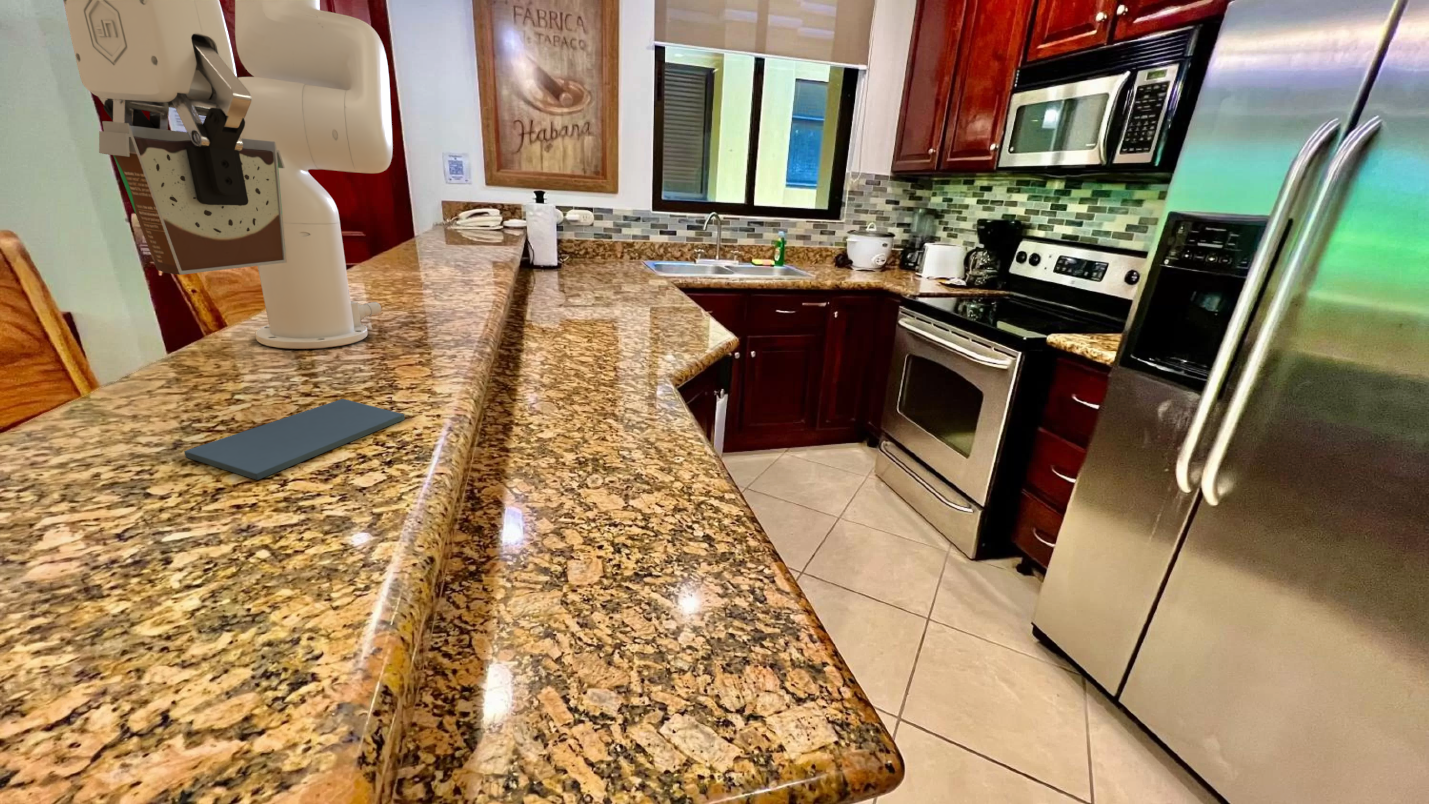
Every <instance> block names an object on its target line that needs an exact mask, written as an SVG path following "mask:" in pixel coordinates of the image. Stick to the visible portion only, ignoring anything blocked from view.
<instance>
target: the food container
mask: <svg viewBox="0 0 1429 804" xmlns="http://www.w3.org/2000/svg"><path fill="white" fill-rule="evenodd" d="M101 124H102V128H103V131H102V130H101V131H99V132H98V136H99V137H98V139H99V140H98V153H99V154H102V155H110V156H113V158H114V161H115V163H116V166H117V169H118V172H119V174H120V177H121V180H122V182H123V185H124V187H125V191H126V192H127V195H128V198H129V200H130V204H131V206H132V209H133V211H134V213H135V217H136V219H137V222H138V225H139V227H140V230H141V232H142V235H143V237H144V241H145V243H146V245H147V248H148V250H149V253H150V256H151V259H152V261H153V264H154V267H155V269H156V270H157V271H158V272H162V273H165V274H171V275H179V276H181V275H188V274H199V273H207V272H215V271H224V270H234V269H241V268H242V269H243V268H251V267H258V266H261V265H270V264H279V263H287V260H286V249H285V237H284V226H283V215H282V204H281V192H280V181H279V170H278V168H285V167H284V164H283V161H282V157H281V154H280V151H279V150H277V148H276V143H275V142H273V141H263V140H253V139H243V138H241V139H242V142H243V148H242V150H241V151H239V154H240V159H241V165H242V170H243V175H244V181H245V186H246V191H247V196H248V204H247V205H207V204H202V203H200V202H199V201H198V200H197V197H196V192H195V187H194V183H193V178H192V174H191V169H190V165H189V160H188V156H187V151H186V147H185V146H194V147H197V146H195V145H194V144H193V143H192V141H191V139H190V137H189V135H188V133H187V131H179V130H169V129H168V130H162V129H154V128H146V127H138V126H130V125H129V123H119V122H113V121H107V120H103V121H102V123H101ZM234 151H235V150H234Z"/></svg>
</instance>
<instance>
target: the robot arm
mask: <svg viewBox="0 0 1429 804" xmlns="http://www.w3.org/2000/svg"><path fill="white" fill-rule="evenodd" d="M320 1H321V0H234V4H235V5H234V21H235V22H234V25H235V26H234V33H235V34H234V36H235V46H236V51H237V55H238V57H239V60H240V63H241V64H242V66H243V67H244V69H245V70H247V73H249V74H250V75H251V76H239V77H238V75H237V69H236V63H235V58H234V54H233V48H232V44H231V40H230V36H229V32H228V27H227V24H226V20H225V16H224V12H223V8H222V5H221V2H220V0H63V5H64V9H65V14H66V21H67V25H68V30H69V34H70V39H71V45H72V48H73V53H74V57H75V62H76V67H77V70H78V74H79V77H80V81H81V83H82V85H83V87H84V88H85V89H86V90H87V91H89V92H90V93H92V95H94V96H96V97H97V98H98V99H99V100H100V101H101V103H102V104H103V110H104V112H105V113H106V114H107V116H109V118H110V119H111V120H112V122H119V123H129V125H130V126H138V127H146V128H154V129H162V130H169V114H170V109H171V108H172V109H175V110H176V113H177V115H178V117H179V118H180V121H181V123H182V126H183V127H184V129H185V132H187V133H188V135H189V137H190V139H191V141H192V143H193V144H194V145H195V146H197V147H194V146H185V147H186V151H187V156H188V160H189V165H190V169H191V174H192V178H193V183H194V187H195V192H196V197H197V200H198V201H199V202H200V203H202V204H207V205H247V204H248V196H247V191H246V186H245V181H244V175H243V170H242V165H241V159H240V154H239V151H241V150H242V148H243V142H242V139H241V138H243V139H253V140H263V141H273V142H275V143H276V148H277V150H279V151H280V154H281V157H282V161H283V164H284V167H285V168H278V170H279V181H280V192H281V204H282V215H283V226H284V237H285V249H286V260H287V263H279V264H270V265H261V266H257V270H258V271H257V272H258V276H259V281H260V286H261V292H262V295H263V302H264V306H265V307H264V308H265V312H266V317H267V323H268V324H267V325H264V326H262V327H259V328H257V330H255V339H256V341H257V342H258V343H259V344H261V345H263V346H267V347H273V348H278V349H291V350H293V349H294V350H305V349H306V350H309V349H310V350H311V349H324V348H325V349H326V348H333V347H340V346H346V345H351V344H354V343H357V342H360V341H362V340H364V339H366V337H367V336H368V333H369V332H368V327H367V326H366V325H365V324H363V323H362V322H361V321H362V320H364V318H365V317H373V316H378V315H380V314H381V313H382V312H383V310H382V309H383V308H382V306H381V304H380V303H379V302H376V301H371V302H366V303H363V304H359V303H358V301H351V300H352V299H351V293H350V286H349V285H350V284H349V279H348V271H347V264H346V256H345V250H344V243H343V242H344V241H343V236H342V229H341V220H340V214H339V208H338V207H337V204H336V202H335V200H334V199H333V197H332V196H331V195H330V193H329V192H328V191H327V189H325V188H324V187H323V186H322V185H321V184H320V183H319V182H318V181H317V180H316V179H315V177H313V176H312V175H311V174H310V172H309V170H325V171H337V172H346V173H359V174H380V173H383V172H384V171H387V170H388V168H389V167H390V165H391V164H392V163H391V162H392V159H393V151H394V150H393V149H394V147H393V146H394V144H393V142H394V141H393V125H392V124H393V123H392V122H393V121H392V105H391V103H392V102H391V87H390V73H389V65H388V59H387V53H386V50H385V47H384V44H383V41H382V39H381V38H380V35H379V34H378V32H377V31H376V30H375V28H373V27H372V26H371V25H370V24H368V23H367V22H366V21H364V20H362V19H359V18H357V17H353V16H350V15H346V14H341V13H336V12H331V11H328V10H327V11H326V10H321V4H320V3H321V2H320ZM143 111H144V112H149V117H148V116H146V114H145V113H144V112H143ZM200 116H202V117H205V118H204V120H203V121H202V119H201V118H200ZM234 150H235V151H234Z"/></svg>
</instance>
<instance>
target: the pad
mask: <svg viewBox="0 0 1429 804" xmlns="http://www.w3.org/2000/svg"><path fill="white" fill-rule="evenodd" d="M405 417H406V416H405V414H404V413H401V412H397V411H393V410H389V409H385V408H381V407H377V406H373V405H369V404H365V403H361V402H358V401H354V400H349V399H346V398H340V399H338V400H333V401H332V402H328V403H326V404H325V403H324V404H322V405H319V406H317V407H313V408H311V409H307V410H304V411H301V412H297V413H295V414H292V415H289V416H286V417H283V418H280V419H277V420H274V421H271V422H268V423H265V424H262V425H258V426H256V427H253V428H250V429H247V430H243V431H240V432H238V433H235V434H232V435H228V436H225V437H223V438H219V439H216V440H214V441H210V442H207V443H205V444H201V445H198V446H196V447H192V448H190V449H186V450H184V451H183V452H184V456H185V458H187V459H189V460H192V461H196V462H198V463H202V464H206V465H209V466H212V467H215V468H218V469H221V470H224V471H228V472H231V473H234V474H237V475H240V476H243V477H247V478H249V479H252V480H255V481H259V480H261V479H263V478H266V477H269V476H271V475H273V474H276V473H279V472H280V471H281V472H282V471H284V470H285V469H288V468H290V467H293V466H295V465H298V464H301V463H302V462H305V461H307V460H309V459H312V458H315V457H317V456H320V455H322V454H324V453H326V452H330V451H332V450H335V449H336V448H339V447H341V446H344V445H346V444H349V443H351V442H354V441H355V440H356V441H357V440H358V439H361V438H363V437H366V436H368V435H370V434H373V433H375V432H377V431H381V430H382V429H386V428H387V427H390V426H392V425H394V424H397V423H399V422H402V421H404V420H406V419H405Z"/></svg>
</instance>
